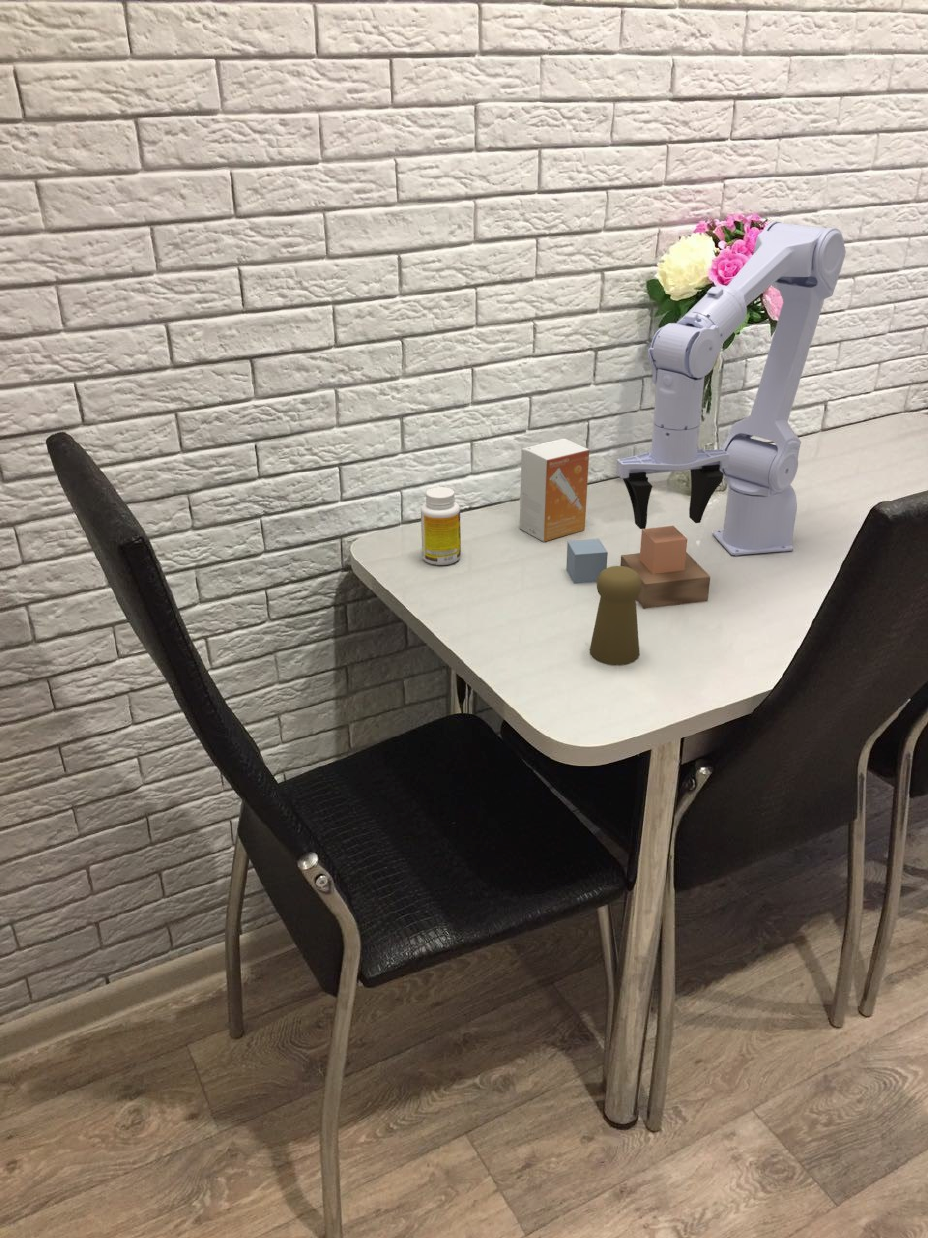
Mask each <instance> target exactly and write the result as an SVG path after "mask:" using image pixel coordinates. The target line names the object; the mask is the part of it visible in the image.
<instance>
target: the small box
mask: <svg viewBox="0 0 928 1238" xmlns="http://www.w3.org/2000/svg"><path fill="white" fill-rule="evenodd" d="M520 451H521V453H520V454H521V459H520V460H521V463H520V501H519V502H520V504H519V507H520V509H519V510H520V511H519V513H520V514H519V529H520V530H522V531H523V532H526V533H527V534H529V535H531V536H532V537H534V538H536V539H538V540H539V541H541V542H548V541H552V540H553V539H557V538H561V537H564V536H567V535H571V534H575V533H578V532H583V531H585V530H586V514H587V513H586V512H587V499H588V498H587V497H588V478H589V462H590V461H589V460H590V449H589V448H587V447H585V446H582V445H580V444H578V443H576V442H573V441H571V440H569V439H566V438H559V439H555V440H553V441H547V442H542V443H538V444H535V445H530V446H527V447H522V448H521V450H520Z"/></svg>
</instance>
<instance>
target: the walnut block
mask: <svg viewBox="0 0 928 1238" xmlns="http://www.w3.org/2000/svg"><path fill="white" fill-rule="evenodd" d="M619 566H624V567H628V568H631V569H633V570H635V571H636V572H637V573H638V574H639V576H640V578H641V583H642V587H641V591H640V594H639V595H638V597H637V598H636V603H638V604H639V605H640V607H641V608H642V609H643V610H645V609H654V608H663V607H672V606H679V605H688V604H695V603H696V604H697V603H702V602H703V603H705V602H708V599H709V591H710V585H711V584H710V582H711V576H710V574H708V572H707V571H706V570H704V568H703V567H702V566H701V565H699V563H698V562H697V561H696V560H695V559H694V558H693V556H691V554H689V553H688V552H687V551H686V560H685V570H682V571H674V572H666V573H658V574H652V573H651V572H650V571H649V570H648V569H647V568H646V566H645V565H644V564H643V563H642V562H641V561H640V552H638V553H630V554H621V555H620V565H619Z"/></svg>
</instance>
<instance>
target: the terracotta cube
mask: <svg viewBox="0 0 928 1238" xmlns="http://www.w3.org/2000/svg"><path fill="white" fill-rule="evenodd" d="M640 537H641V538H640V547H639V553H640V561H641V562H642V563H643V564H644V565H645V566H646V568H647V569H648V570H649V571H650V572H651V573H652V574H658V573H666V572H674V571H682V570H685V560H686V552H687V551H688V550H687V549H688V548H687V547H688V538H687V537H686V536H685V535H684V534H683V533H682V532H681V531H679V529H677V527H675V526H674V525H668V526H660V527H659V526H658V527H651V528H645V529H641V535H640Z"/></svg>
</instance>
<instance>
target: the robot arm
mask: <svg viewBox="0 0 928 1238" xmlns="http://www.w3.org/2000/svg"><path fill="white" fill-rule="evenodd" d="M846 252H847V251H846V246H845V240H844V238H843V234H842V232H841V230H840V229H839V228H837V227H829V228H828V227H820V226H811V225H801V224H792V223H785V222H782V221H777V220H773V221H771V222H769V223H768V224H767V225H766V226H764V228H763V229H762V231H761V232H759V233H758V234H757V237H756V239H755V245H754V250H753V254H752V255H751V256H750V258H749V259H748V260H747V261H746V262H745V264H743V266H742V267H741V268H740V270H739V271H738V272H737V274H736V275H734V277H733V278H731V279H732V280H731V281H729V283H728V284H727V285H716V286H712V287H711V288H709V289H708V291H706V294H705V295H704V296H702V297H701V299H700V300H698V301H697V303H695V304H694V305H693V307H692V308H691V309H689V311H687V312H686V314H684V315H683V317H681V318H680V319H679V320H678V321H677V322H676V323H675V322H670V323H667V324H665V325H664V326H661V327H660V328H659V329H658V330H657V331H656V332H655V334H654V335H653V338H652V340H651V342H650V343H651V344H650V347H649V348H648V349H647V358H648V362H649V364H650V366H651V369H652V378H651V379H652V381H653V384H655V385H656V386H655V396H654V409H653V410H654V412H653V422H652V423H653V424H652V434H651V435H652V438H651V447H650V448H651V450H650V451H649V452H644V453H641V454H640V453H639V454H637V455H632V456H630V457H629V456H628V457H623V458H617V459H616V471H615V472H616V475H617V476H619V478H621V479H622V481H623V483H624V485H625V487H626V490H627V492H628V495H629V498H630V502H631V505H632V510H633V517H634V523H635V525H636V526H637V528H638V529H639V530H642V529H647V528H646V527H647V523H648V508H649V507H648V506H649V502H650V497H651V492H652V490H653V485H652V484H651V483H650V481H649V477H648V476H647V475H649V474H659V473H661V474H662V473H670V472H680V471H681V472H682V471H690V487H691V488H690V490H691V492H690V501H689V508H688V509H689V510H688V511H689V519H691V521H693V522H694V523H695V524H700V523H701V522H702V519H703V515H704V513H705V510H706V508H707V506H708V504H709V502H710V499H711V498H712V496H713V494H714V493H715V491H716V490H717V489H718V487H719V486H720V484H721V483H722V482H723V480H724V484H725V485H727V486H728V488H727V496H726V505H725V512H724V513H725V514H724V520H723V521H724V522H723V529H717V530H713V531H712V535H713V537H715V539H716V540H717V541H719V543H720V544H721V545H722V546H723V547H724V548H725V550H727V552H728V553H729V554H730V555H732V556H739V555H740V556H741V555H752V554H763V553H764V554H766V553H778V552H789V551H793V550H794V546H793V545H792V542H793V537H794V530H795V523H796V517H797V511H798V509H797V508H798V501H797V495H796V492H795V489H794V488H793V486H792V485H791V484H792V483H793V481H794V479H795V477H796V476H797V472H798V467H799V455H800V453H799V452H800V449H801V443H802V441H801V439H800V438H799V437H798V435H797V434H796V432H795V431H794V430H793V429H792V426H791V425H790V424H789V422H788V421H789V418H790V415H791V413H792V409H793V405H794V402H795V398H796V395H797V391H798V388H799V386H800V382H801V378H802V375H803V373H804V372H803V371H804V368H805V364H806V361H807V358H808V355H809V352H810V348H811V345H812V342H813V340H814V335H815V332H816V328H817V325H818V322H819V319H820V315H821V312H822V308H823V305H824V302H825V300H826V299H828V298H830V297H833V295H834V292H835V289H836V286H837V283H838V280H839V278H840V274H841V270H842V267H843V264H844V260H845V258H846ZM771 286H772V287H773V288H774V289H775V290H777V291H778V292H779V293H780V296H781V299H782V306H781V309H780V312H779V316H778V318H777V323H776V325H775V329H774V333H773V336H772V340H771V344H770V345H769V346H770V347H769V351H768V354H767V356H766V357H767V358H766V359H765V360H766V361H765V364H764V367H763V370H762V373H761V374H762V375H761V378H760V381H759V384H758V388H757V391H756V396H755V397H754V398H755V399H754V401H753V405H752V408H751V412H750V415H748V416H746V417H745V418H743V419H741V420H739V421H737V422H735V423H734V424H732V425H731V428H730V430H729V433H728V436H727V438H726V440H725V441H724V443H723V444H722V445H721V448H720V449H719V448H718V449H698V448H699V447H698V446H699V445H698V444H699V436H700V427H701V426H700V425H701V415H702V406H703V397H704V396H703V394H704V388H705V387H704V386H705V385H704V384H705V376H707V375H708V374H710V372H711V371H712V370H713V368H714V366H715V365H716V361H717V359H718V355H719V354H720V353H721V352H722V349H723V344H724V343H725V342H726V340H728V339H729V337H731V336H732V334H733V333H734V332H735V331H737V329H738V328H739V327H740V326H741V325H742V324H743V323H744V322H745V321H746V318H747V315H748V308H747V306H748V305H750V304H751V303H752V302H754V300H755V299H757V298H758V297H759V296H760V295H761V294H763V292H765V291H766V290H768V288H769V287H771ZM752 437H753V438H752ZM754 437H756V438H759V439H763V440H767V441H771V442H773V443H774V444H773V443H769V442H766V441H762V440H758V439H755V438H754Z"/></svg>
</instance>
